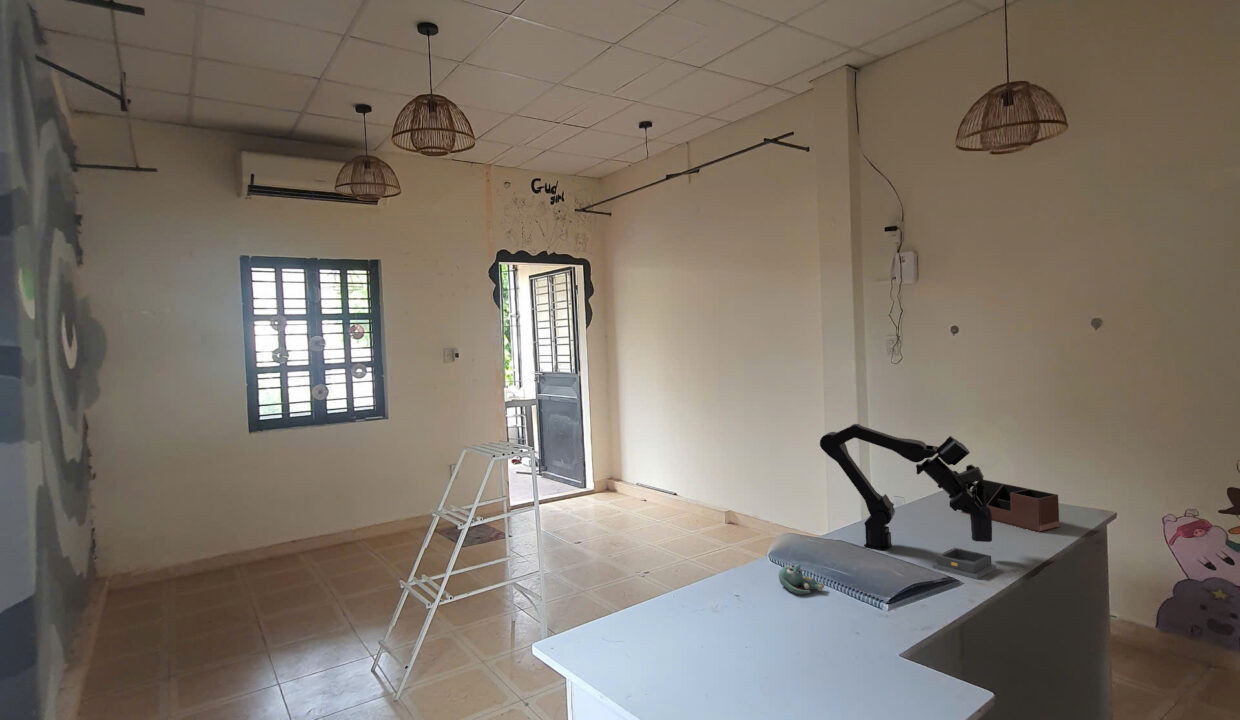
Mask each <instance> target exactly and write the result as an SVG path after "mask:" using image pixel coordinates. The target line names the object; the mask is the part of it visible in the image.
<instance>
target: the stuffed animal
mask: <svg viewBox="0 0 1240 720" xmlns="http://www.w3.org/2000/svg"><path fill="white" fill-rule="evenodd" d="M778 580H779V583H780V584H781V586H783V587H784V588H786V589H787V590H789V592H791V594H796V595H802V596H803V595H807V594H810V593H811V590H810V589H815V590H817V591H819V592H822V591H823V589H824V588H825V583H823V582H820V581H816V579H815V578H814V577H812V576H808V575H804V574H803V573H802V568H801V564H800V563H797V564H795V565H789V564H787V565H785V566H784V567H782V568H781V569H780V570H779V571H778ZM799 586H801V587H803V588H799Z"/></svg>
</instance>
